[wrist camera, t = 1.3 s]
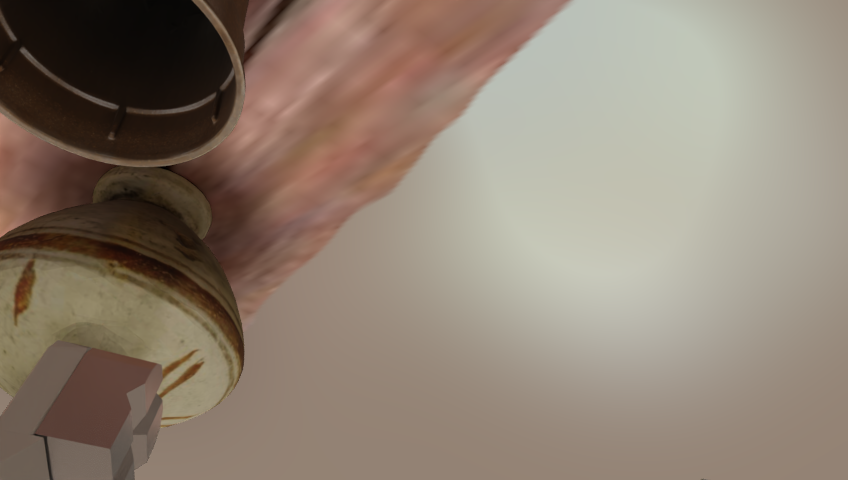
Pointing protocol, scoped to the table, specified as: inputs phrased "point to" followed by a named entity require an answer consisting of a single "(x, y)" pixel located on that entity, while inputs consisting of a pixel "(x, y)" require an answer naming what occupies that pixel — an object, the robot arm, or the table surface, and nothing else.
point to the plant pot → (124, 75)
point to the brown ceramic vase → (125, 289)
